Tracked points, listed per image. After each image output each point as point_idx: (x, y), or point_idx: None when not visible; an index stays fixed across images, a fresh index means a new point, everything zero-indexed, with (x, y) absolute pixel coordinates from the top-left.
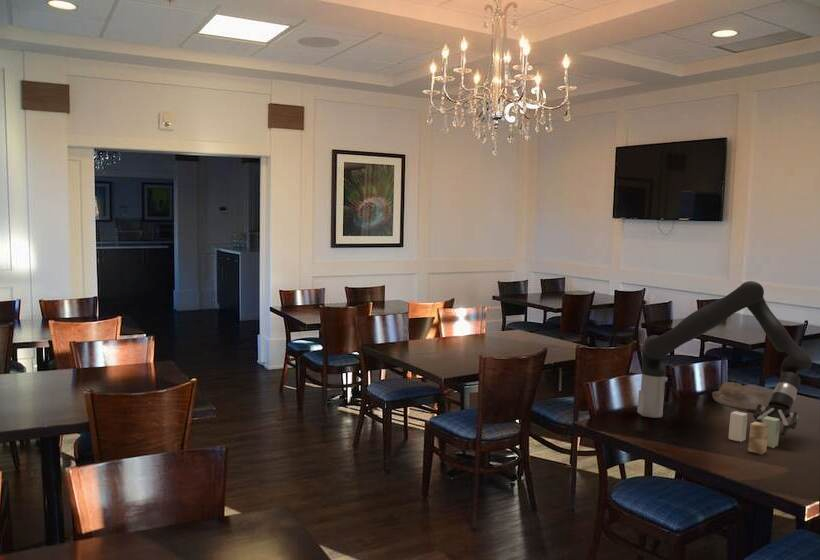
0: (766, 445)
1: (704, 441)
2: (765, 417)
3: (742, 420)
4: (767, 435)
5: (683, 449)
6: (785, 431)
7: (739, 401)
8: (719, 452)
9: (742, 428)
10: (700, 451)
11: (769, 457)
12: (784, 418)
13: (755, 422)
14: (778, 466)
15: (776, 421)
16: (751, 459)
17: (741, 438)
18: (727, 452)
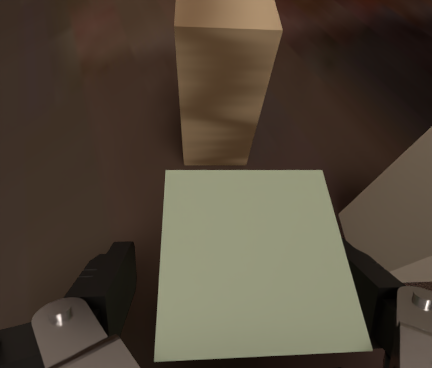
0: (182, 140)
1: (401, 102)
2: (328, 230)
3: (425, 132)
4: (179, 99)
5: (356, 8)
6: (87, 271)
7: None
8: (288, 45)
9: (385, 183)
10: (323, 21)
11: (147, 110)
12: (70, 359)
13: (266, 12)
14: (95, 53)
15: (165, 197)
16: None
17: (349, 212)
18: (275, 59)
